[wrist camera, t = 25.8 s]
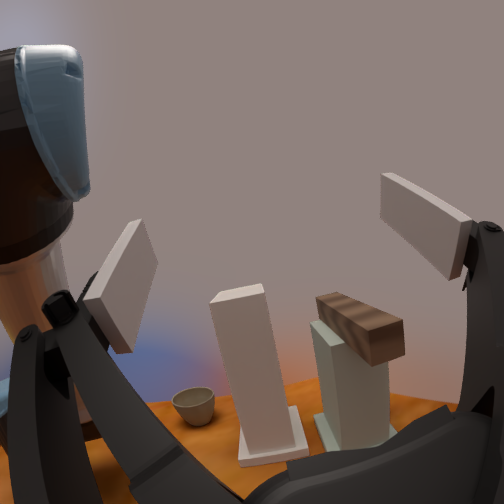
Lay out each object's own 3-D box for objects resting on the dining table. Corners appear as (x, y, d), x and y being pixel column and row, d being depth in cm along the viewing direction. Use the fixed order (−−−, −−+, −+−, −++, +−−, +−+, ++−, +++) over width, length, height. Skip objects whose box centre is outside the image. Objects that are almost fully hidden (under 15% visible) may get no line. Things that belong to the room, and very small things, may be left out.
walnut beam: (405, 354, 25) (402, 319, 25) (371, 367, 25) (368, 330, 25) (340, 313, 49) (336, 292, 49) (319, 318, 49) (315, 297, 49)
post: (401, 446, 33) (401, 327, 33) (332, 471, 33) (317, 352, 33) (369, 405, 49) (360, 307, 49) (314, 422, 49) (297, 323, 49)
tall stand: (309, 455, 38) (279, 290, 39) (240, 467, 38) (194, 307, 39) (297, 412, 54) (271, 280, 55) (243, 422, 54) (210, 292, 55)
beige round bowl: (174, 431, 53) (164, 406, 53) (187, 411, 63) (179, 387, 63) (216, 431, 52) (207, 405, 52) (224, 409, 62) (217, 385, 62)
